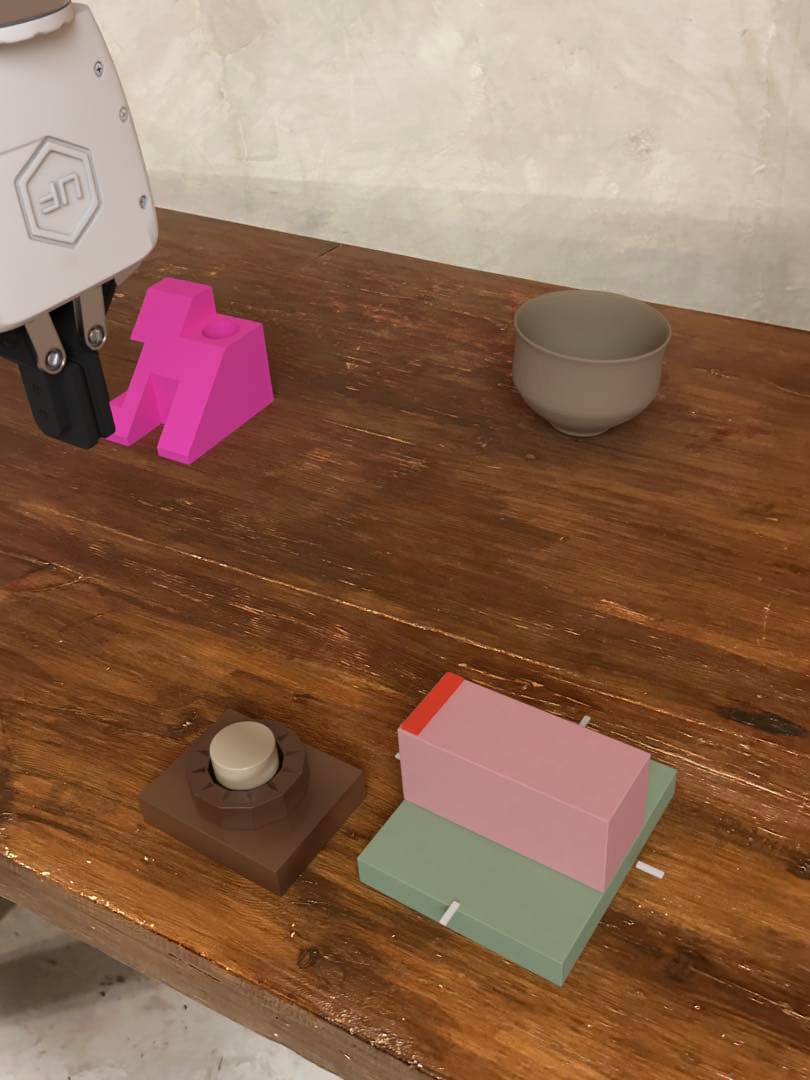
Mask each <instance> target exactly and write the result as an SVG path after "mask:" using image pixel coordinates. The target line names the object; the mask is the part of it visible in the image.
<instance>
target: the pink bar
mask: <svg viewBox="0 0 810 1080" xmlns="http://www.w3.org/2000/svg"><path fill="white" fill-rule="evenodd" d="M397 740H398V741H397V742H398V751H399V753H400V760H399V762H400V763H399V764H400V774H401V783H402V784H401V785H402V792H403V793H402V794H403V799H405V800H407V801H409V802H411V803H413V804H415V805H418V806H420V807H422V808H424V809H426V810H428V811H430V812H432V813H435V814H437V815H439V816H441V817H443V818H445V819H447V820H449V821H451V822H454V823H456V824H458V825H460V826H462V827H464V828H466V829H468V830H471V831H473V832H475V833H477V834H479V835H481V836H483V837H485V838H488V839H490V840H492V841H494V842H496V843H498V844H500V845H502V846H504V847H507V848H509V849H511V850H513V851H515V852H517V853H519V854H521V855H524V856H526V857H528V858H530V859H532V860H534V861H536V862H538V863H541V864H543V865H545V866H547V867H549V868H551V869H553V870H555V871H557V872H560V873H562V874H564V875H566V876H568V877H570V878H572V879H574V880H577V881H579V882H581V883H583V884H585V885H587V886H589V887H591V888H594V889H596V890H598V891H600V892H602V893H604V892H605V890H606V888H607V887H608V885H609V883H610V881H611V880H612V878H613V876H614V875H615V873H616V871H617V870H618V868H619V866H620V865H621V863H622V861H623V859H624V858H625V856H626V854H627V853H628V851H629V849H630V848H631V846H632V844H633V843H634V841H635V839H636V837H637V836H638V834H639V832H640V831H641V829H642V827H643V826H644V819H645V809H646V799H647V789H648V779H649V768H650V759H651V757H652V753H650V752H648V751H645V750H643V749H640V748H637V747H635V746H633V745H630V744H629V743H626V742H624V741H620V740H618V739H615V738H613V737H610V736H608V735H605V734H603V733H600V732H597V731H595V730H592V729H590V728H588V727H586V726H585V727H583V726H580V725H579V723H576V722H573V721H570V720H568V719H565V718H563V717H560V716H559V715H558V716H557V715H555V714H553V713H550V712H547V711H545V710H542V709H541V708H538V707H536V706H532V705H530V704H528V703H525V702H522V701H520V700H518V699H515V698H513V697H510V696H507V695H505V694H502V693H500V692H497V691H495V690H492V689H490V688H487V687H486V686H482V685H481V684H477V683H475V682H473V681H470V680H467V679H465V678H464V676H461V675H458V674H456V673H453V672H452V671H447V672H445V673H444V675H443V676H442V677H441V678H440V680H439V681H438V682H437V683H436V684H435V685H434V687H433V688H432V689H431V690H430V691H429V692H428V693H427V695H425V697H424V698H423V699H422V700H421V701H420V702H419V704H418V705H417V706H416V707H415V708H414V710H413V711H412V712H410V714H409V715H408V716H407V717H406V719H405V720H404V721H403V722H402V723H401V724H400V725H399V727H398V728H397Z"/></svg>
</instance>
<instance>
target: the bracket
mask: <svg viewBox="0 0 810 1080" xmlns="http://www.w3.org/2000/svg"><path fill="white" fill-rule="evenodd" d="M213 292H214V291H213V286H212V285H207V284H203V283H198V282H194V281H188V280H184V279H180V278H179V279H178V278H175V277H169V276H167V277H165V278H162V279H161V280H159V281H158V282H156V283H154V284H153V285H151V286H149V287H148V288H147V290H146V292H145V295H144V299H143V302H142V304H141V307H140V310H139V313H138V316H137V319H136V321H135V324H134V327H133V330H132V332H131V335H130V340H132V341H136V342H140V343H143V346H142V349H141V352H140V354H139V357H138V361H137V363H136V365H135V368H134V372H133V374H132V376H131V380H130V383H129V386H128V387H127V388H128V389H127V390H125V391H124V392H123V393H121V394H120V395H118V396H117V397H115V398H113V399H112V400H110V401H109V403H110V407H111V411H112V415H113V419H114V423H115V427H116V431H115V433H114V434H112V435H110V436H109V437H107V438H105V439H104V438H102V440H106V441H110V442H113V443H116V444H120V445H122V446H125V447H130V446H132V445H133V444H135V443H137V442H138V441H139V440H141V439H142V438H143V437H145V436H147V434H149V433H150V432H152V431H153V430H155V429H156V428H157V427H159V426H161V425H164V426H163V429H162V431H161V434H160V437H159V440H158V442H157V445H156V449H157V454H158V456H159V457H161V458H164V459H168V460H172V461H175V462H179V463H181V464H184V465H188V466H190V465H192V464H193V463H194V462H196V461H197V460H198V459H199V458H201V457H202V456H203V455H205V454H206V453H207V452H209V451H210V450H211V449H213V448H214V447H215V446H216V445H218V444H219V443H220V442H222V441H223V440H224V439H226V438H227V437H228V436H230V435H231V434H232V433H234V432H235V431H236V430H237V429H239V428H240V427H241V426H243V425H244V424H245V423H246V422H248V421H249V420H250V419H252V418H253V417H254V416H256V415H258V414H259V413H260V412H261V411H263V410H264V409H265V408H266V407H268V406H269V405H270V404H272V403H273V402H274V401H275V398H274V392H273V385H272V379H271V378H272V377H271V371H270V365H269V358H268V353H267V352H268V351H267V347H266V346H267V345H266V338H265V332H264V326H263V323H262V322H258V321H254V320H249V319H244V318H239V317H235V316H232V315H231V316H230V315H226V314H222V313H217V309H216V303H215V298H214V293H213Z"/></svg>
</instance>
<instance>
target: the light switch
mask: <svg viewBox="0 0 810 1080" xmlns="http://www.w3.org/2000/svg"><path fill="white" fill-rule="evenodd" d="M243 721H252V722H258V723H261V724H263V725H265V726H266V727H268V728H269V729H270V730H271V731H272V733H273V734H274V737H275V741H276V747H277V752H278V757H279V766H278V769H277V771H276V773H275V775H274V776H273V777H272V779H270V780H269V781H268V782H267V783H266V784H264V785H262V786H260V787H258V788H255V789H252V790H247V791H236V790H231V789H228V788H226V787H224V786H223V785H222V784H220V783H219V781H218V780H217V779H216V777H215V773H214V769H213V765H212V761H211V757H210V744H211V742H212V740H213V738H214V737H215V735H216V734H217V733H218V732H219V731H221V730H222V729H223V728H225V727H227V726H229V725H231V724H234V723H237V722H243ZM366 797H367V788H366V781H365V774H364V770H362V769H360V768H358V767H356V766H354V765H353V764H349V763H348V762H345V761H344V760H341V759H339V758H337V757H335V756H332V755H331V754H328V753H327V752H324V751H322V750H320V749H317V748H316V747H313V746H311V745H310V744H307V743H305V742H302V741H301V739H300V737H299V736H298V734H297V732H296V730H293V729H291V728H290V727H288V726H285V725H283V724H281V723H279V722H276V721H274V720H272V719H269V718H268V719H266V718H265V719H264V718H263V719H262V718H261V719H259V718H256V719H253V718H251V717H250V716H248V715H245V714H243V713H241V712H239V711H237V710H235V709H232V708H228V709H226V711H224V712H223V713H222V715H220V716H219V717H218V718H217V719H216V720H215V721H214V722H213V723H212V724H211V725H210V726H209V727H207V729H205V730H204V731H203V733H201V734H200V735H199V736H198V737H197V739H195V740H194V741H193V742H192V743H191V744H189V746H188V747H186V749H185V750H184V751H183V752H181V754H179V756H177V757H176V758H175V759H174V760H173V762H171V763H170V764H169V765H168V766H167V767H166V768H165V769H164V770H163V771H162V772H160V774H158V776H156V777H155V778H154V779H153V780H152V781H151V782H150V783H149V784H148V785H147V786H146V787H145V788H144V789H143V790H142V791H141V792H140V793H138V795H137V796H136V798H137V802H138V804H139V807H140V808H139V809H140V811H141V815H142V817H143V821H144V823H146V824H149V825H150V826H152V827H154V828H156V829H157V830H159V831H161V832H162V833H164V834H166V835H168V836H170V837H172V838H173V839H175V840H176V841H178V842H181V843H182V844H184V845H186V846H188V847H190V848H191V849H193V850H195V851H197V852H198V853H199V854H202V855H204V856H205V857H207V858H209V859H211V860H213V861H214V862H217V863H218V864H220V865H222V866H223V867H225V868H227V869H229V870H230V871H232V872H234V873H236V874H238V875H240V876H241V877H243V878H245V879H247V880H249V881H250V882H252V883H253V884H256V885H258V886H259V887H261V888H263V889H265V890H266V891H268V892H270V893H272V894H274V895H275V896H277V897H279V898H282V897H283V896H284V895H285V894H286V892H287V891H288V890H289V889H290V887H291V886H292V885H293V884H294V883H295V881H296V880H298V878H299V877H300V876H301V875H302V873H303V872H304V871H305V869H307V868H308V866H309V865H310V864H311V863H312V861H313V860H314V859H315V858H316V857H317V856H318V854H319V853H320V852H321V851H322V849H323V848H324V847H325V846H326V845H327V844H328V843H329V841H330V840H331V839H332V838H333V837H334V835H335V834H336V833H337V832H338V831H339V829H341V827H342V826H343V825H344V824H345V822H346V821H347V820H348V819H349V818H350V817H351V816H352V815H353V813H354V812H355V811H356V810H357V808H358V807H359V806H360V805H361V804H362V802H363V801H365V799H366Z"/></svg>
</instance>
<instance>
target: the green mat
mask: <svg viewBox="0 0 810 1080" xmlns="http://www.w3.org/2000/svg"><path fill="white" fill-rule="evenodd" d="M591 719H592V717H591V716H589V715H587V714H586V715H584V716H583V718H582V719H581V721H580V722H579V723H578V725H580V726H583V727H585V728H586V726H587V725H588V724H589V722H590V721H591ZM394 758H395V759H397V760H399V761H400V753H399V752H397V753H396V754H395V755H394ZM677 774H678V770H677V768H673V767H671V766H668V765H666V764H664V763H661V762H658V761H656V760H653V759H651V758H650V768H649V779H648V789H647V799H646V809H645V819H644V826H643V827H642V829H641V831H640V832H639V834H638V836H637V837H636V839H635V841H634V843H633V844H632V846H631V848H630V849H629V851H628V853H627V854H626V856H625V858H624V859H623V861H622V863H621V865H620V866H619V868H618V870H617V871H616V873H615V875H614V876H613V878H612V880H611V881H610V883H609V885H608V887H607V888H606V890H605V892H604V893H602V892H600V891H598V890H596V889H594V888H591V887H589V886H587V885H585V884H583V883H581V882H579V881H577V880H574V879H572V878H570V877H568V876H566V875H564V874H562V873H560V872H557V871H555V870H553V869H551V868H549V867H547V866H545V865H543V864H541V863H538V862H536V861H534V860H532V859H530V858H528V857H526V856H524V855H521V854H519V853H517V852H515V851H513V850H511V849H509V848H507V847H504V846H502V845H500V844H498V843H496V842H494V841H492V840H490V839H488V838H485V837H483V836H481V835H479V834H477V833H475V832H473V831H471V830H468V829H466V828H464V827H462V826H460V825H458V824H456V823H454V822H451V821H449V820H447V819H445V818H443V817H441V816H439V815H437V814H435V813H432V812H430V811H428V810H426V809H424V808H422V807H420V806H418V805H415V804H413V803H411V802H409V801H407V800H405V799H404V798H403V799H404V800H402V802H401V803H400V804H399V805H398V806H397V808H396V809H395V810H394V812H392V814H391V815H390V817H388V819H387V820H386V821H385V823H383V825H382V826H381V827H380V829H379V830H378V831H377V832H376V833H375V835H374V836H373V837H372V838H371V840H370V841H369V842H368V844H366V846H365V847H364V849H363V850H361V852H360V853H359V855H358V856H357V857H356V863H357V870H358V876H359V881H360V883H363V884H364V885H366V886H368V887H369V888H372V889H374V890H376V891H378V892H380V893H381V894H383V895H386V896H387V897H389V898H390V899H393V900H395V901H397V902H398V903H400V904H402V905H404V906H406V907H408V908H410V909H412V910H413V911H416V912H417V913H419V914H421V915H423V916H425V917H427V918H429V919H431V920H433V921H434V922H436V923H439V924H441V925H442V926H444V927H446V928H448V929H450V930H452V931H453V932H456V933H458V934H459V935H461V936H463V937H465V938H467V939H469V940H470V941H472V942H475V943H476V944H478V945H480V946H481V947H484V948H486V949H487V950H489V951H492V952H494V953H495V954H497V955H499V956H501V957H503V958H504V959H507V960H508V961H510V962H512V963H515V964H516V965H518V966H519V967H522V968H523V969H526V970H528V971H529V972H532V973H533V974H535V975H537V976H539V977H540V978H543V979H544V980H547V981H548V982H550V983H552V984H554V985H556V986H558V987H560V988H562V987H563V985H564V983H565V981H566V980H567V978H568V977H569V975H570V973H571V971H572V970H573V969H574V966H575V964H576V963H577V961H578V960H579V958H580V956H581V955H582V953H583V951H584V950H585V947H586V946H587V944H588V943H589V941H590V939H591V937H592V935H594V932H595V930H596V929H597V927H598V925H599V923H600V922H601V920H602V918H603V917H604V915H605V913H606V912H607V910H608V908H609V907H610V905H611V903H612V901H613V899H614V898H615V896H616V895H617V893H618V891H619V889H620V888H621V886H622V884H623V883H624V882H625V879H626V878H627V876H628V874H629V873H630V870H631V869H632V867H633V865H634V864H635V862H636V861H637V859H638V857H639V855H640V853H641V852H642V850H643V848H644V847H645V845H646V843H647V841H648V840H649V838H650V837H651V836H652V835H651V834H652V833H653V831H654V830H655V828H656V825H657V824H658V823H659V821H660V820H661V817H662V816H663V814H664V813H665V811H666V809H667V808H668V805H669V804H670V802H671V801H672V799H673V797H674V795H675V790H676V783H677V776H678V775H677ZM635 868H636V869H639V870H641V871H643V872H645V873H647V874H649V875H651V876H654V877H656V878H658V879H661V880H662V879H663V877H664V876H665V871H663V870H660V869H658V868H656V867H654V866H651V865H650V864H647V863H645V862H643V861H640V860H638V861H637V863H636V865H635Z"/></svg>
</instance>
